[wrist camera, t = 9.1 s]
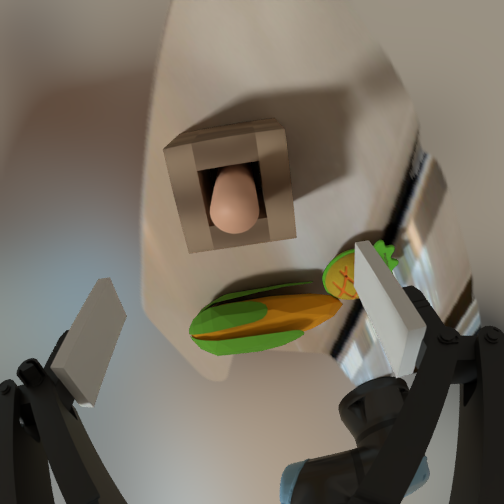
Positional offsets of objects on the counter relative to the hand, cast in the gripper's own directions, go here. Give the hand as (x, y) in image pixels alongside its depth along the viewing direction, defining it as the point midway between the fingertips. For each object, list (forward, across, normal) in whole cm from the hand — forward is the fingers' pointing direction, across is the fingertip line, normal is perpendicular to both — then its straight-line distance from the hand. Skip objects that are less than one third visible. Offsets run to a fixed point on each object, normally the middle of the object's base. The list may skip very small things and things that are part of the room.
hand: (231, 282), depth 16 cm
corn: (+21, -1, +18) cm, 27 cm away
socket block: (+20, 0, -1) cm, 20 cm away
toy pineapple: (+21, -13, +13) cm, 28 cm away
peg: (+20, 0, -1) cm, 20 cm away
